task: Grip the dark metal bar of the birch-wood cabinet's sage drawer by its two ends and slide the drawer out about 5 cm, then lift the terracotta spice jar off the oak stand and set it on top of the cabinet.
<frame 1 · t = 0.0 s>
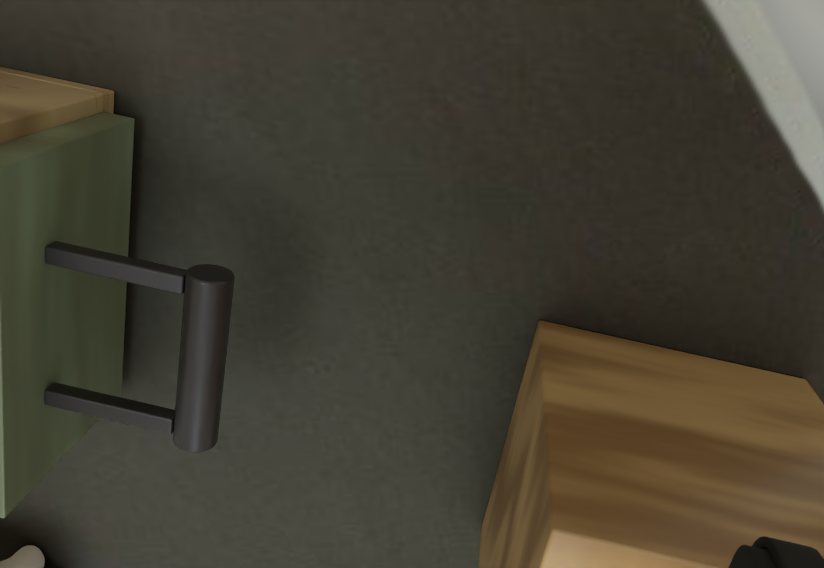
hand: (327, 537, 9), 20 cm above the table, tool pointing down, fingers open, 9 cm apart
oak stand: (632, 459, 31), on the table
elephant figurine: (32, 565, 37), on the table
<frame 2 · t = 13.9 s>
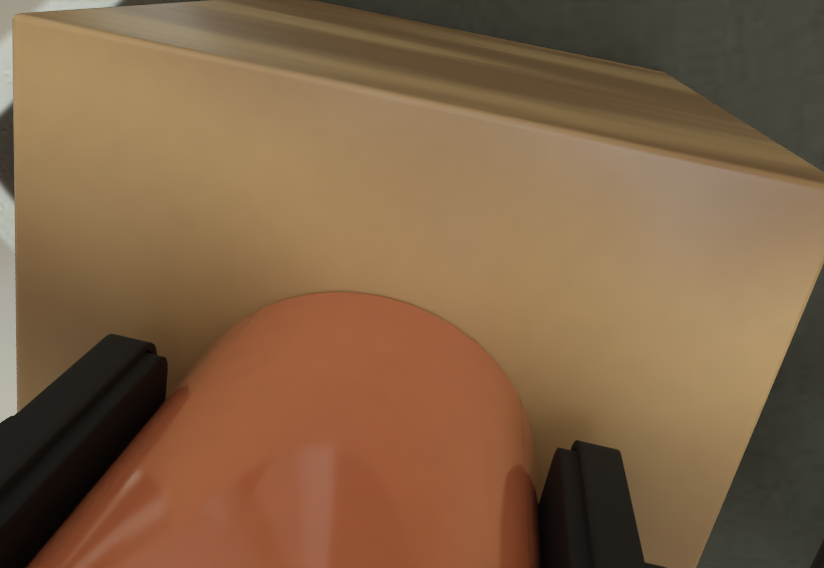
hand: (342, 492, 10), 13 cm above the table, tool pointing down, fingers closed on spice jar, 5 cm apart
spice jar: (354, 456, 11), point 12 cm above the table, touching gripper, oak stand
oak stand: (436, 215, 22), on the table
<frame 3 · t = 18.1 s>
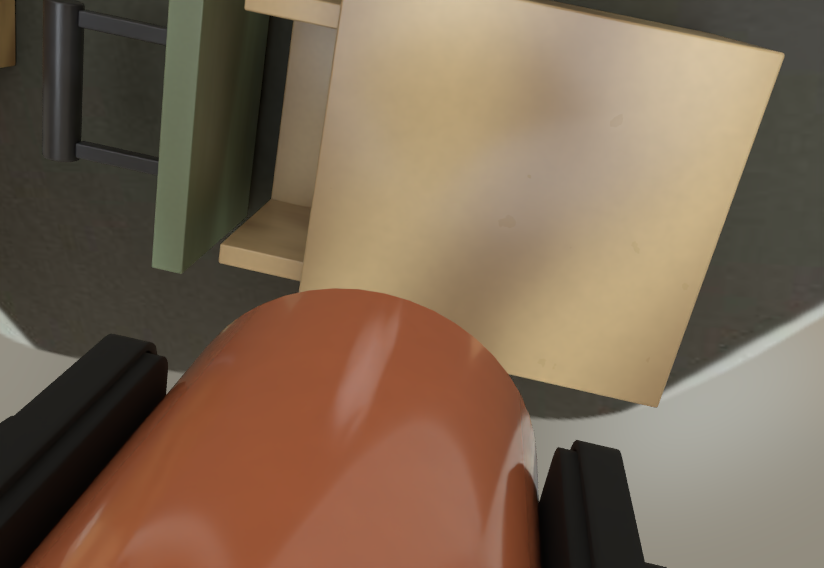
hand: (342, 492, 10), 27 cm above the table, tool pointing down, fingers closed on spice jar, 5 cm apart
spice jar: (354, 453, 11), point 26 cm above the table, touching gripper
cabinet: (514, 146, 35), on the table
drawer: (284, 121, 31), point 5 cm above the table, slide at 4.7 cm
when the fingers open (10 cm above the table, at t = 22.2 s): spice jar stays where it is, resting on cabinet.
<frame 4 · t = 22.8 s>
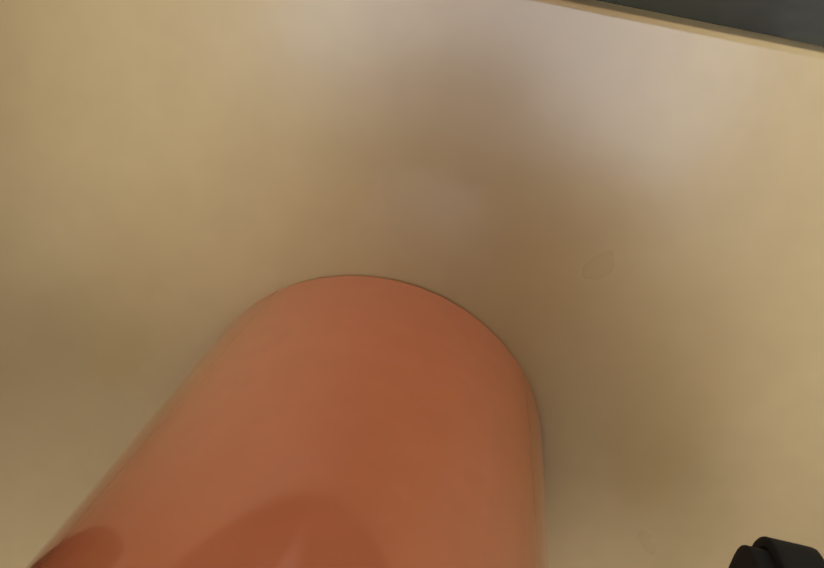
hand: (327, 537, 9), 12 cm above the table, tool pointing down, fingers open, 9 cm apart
spice jar: (365, 437, 11), point 10 cm above the table, touching cabinet
cabinet: (432, 236, 20), on the table
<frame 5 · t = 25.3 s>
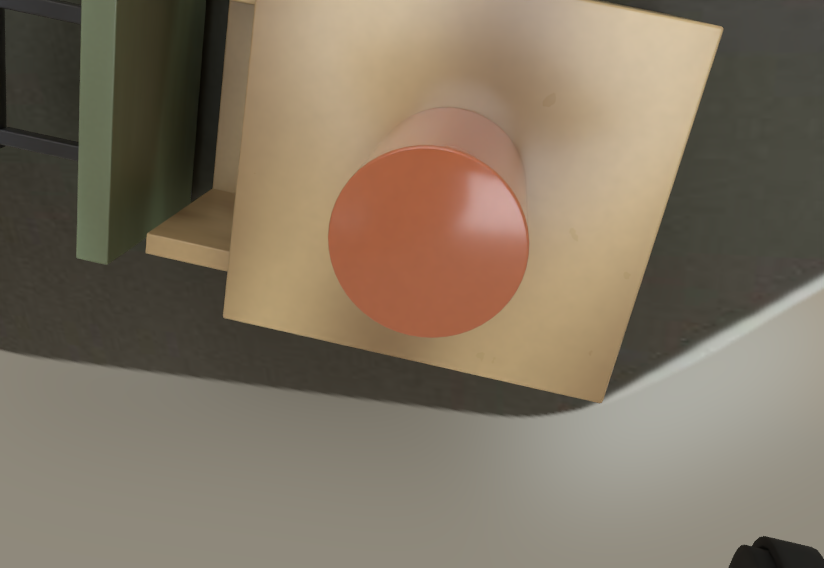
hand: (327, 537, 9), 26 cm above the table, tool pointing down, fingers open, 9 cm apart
spice jar: (447, 186, 25), point 10 cm above the table, touching cabinet
cabinet: (464, 133, 34), on the table
drawer: (217, 106, 30), point 5 cm above the table, slide at 4.7 cm
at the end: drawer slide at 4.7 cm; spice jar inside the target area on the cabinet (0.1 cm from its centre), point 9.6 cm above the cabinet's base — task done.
